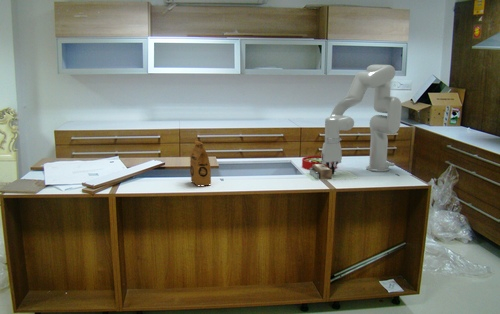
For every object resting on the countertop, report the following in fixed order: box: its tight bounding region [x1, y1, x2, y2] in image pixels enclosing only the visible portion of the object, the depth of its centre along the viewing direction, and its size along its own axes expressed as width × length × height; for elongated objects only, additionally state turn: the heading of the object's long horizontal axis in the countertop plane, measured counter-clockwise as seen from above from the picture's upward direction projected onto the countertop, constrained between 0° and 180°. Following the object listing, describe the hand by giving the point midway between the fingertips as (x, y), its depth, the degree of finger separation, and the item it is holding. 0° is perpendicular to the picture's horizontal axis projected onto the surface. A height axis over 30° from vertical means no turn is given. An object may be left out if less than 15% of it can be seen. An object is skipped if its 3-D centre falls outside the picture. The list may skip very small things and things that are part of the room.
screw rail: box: [309, 168, 320, 181], centre depth 247 cm, size 2×13×4 cm, turn 10°
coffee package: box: [189, 140, 212, 186], centre depth 236 cm, size 10×12×22 cm
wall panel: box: [303, 170, 359, 182], centre depth 249 cm, size 26×16×1 cm, turn 100°
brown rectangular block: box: [312, 164, 332, 181], centre depth 248 cm, size 6×14×5 cm, turn 11°
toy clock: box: [301, 155, 338, 171], centre depth 269 cm, size 20×6×20 cm
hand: (331, 173), depth 249 cm, fingers closed
